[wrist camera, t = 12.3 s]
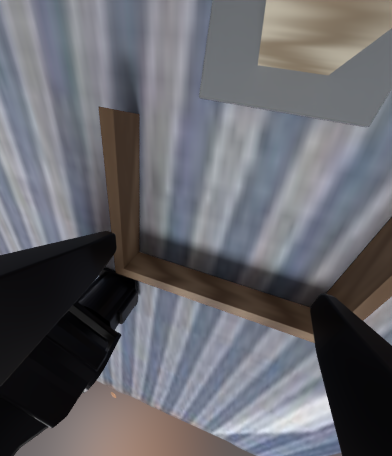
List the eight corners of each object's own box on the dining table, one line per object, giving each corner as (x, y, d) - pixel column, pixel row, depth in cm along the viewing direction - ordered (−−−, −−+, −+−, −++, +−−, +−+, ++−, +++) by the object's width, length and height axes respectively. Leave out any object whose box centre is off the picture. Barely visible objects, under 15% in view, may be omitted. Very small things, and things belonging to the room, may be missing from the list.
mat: (200, 98, 14) (198, 97, 13) (236, -149, 9) (235, -164, 8) (365, 127, 12) (369, 126, 11) (533, -161, 7) (552, -181, 6)
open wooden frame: (131, 256, 24) (115, 272, 21) (127, 111, 16) (98, 106, 13) (318, 317, 21) (330, 348, 18) (449, 176, 12) (516, 189, 9)
